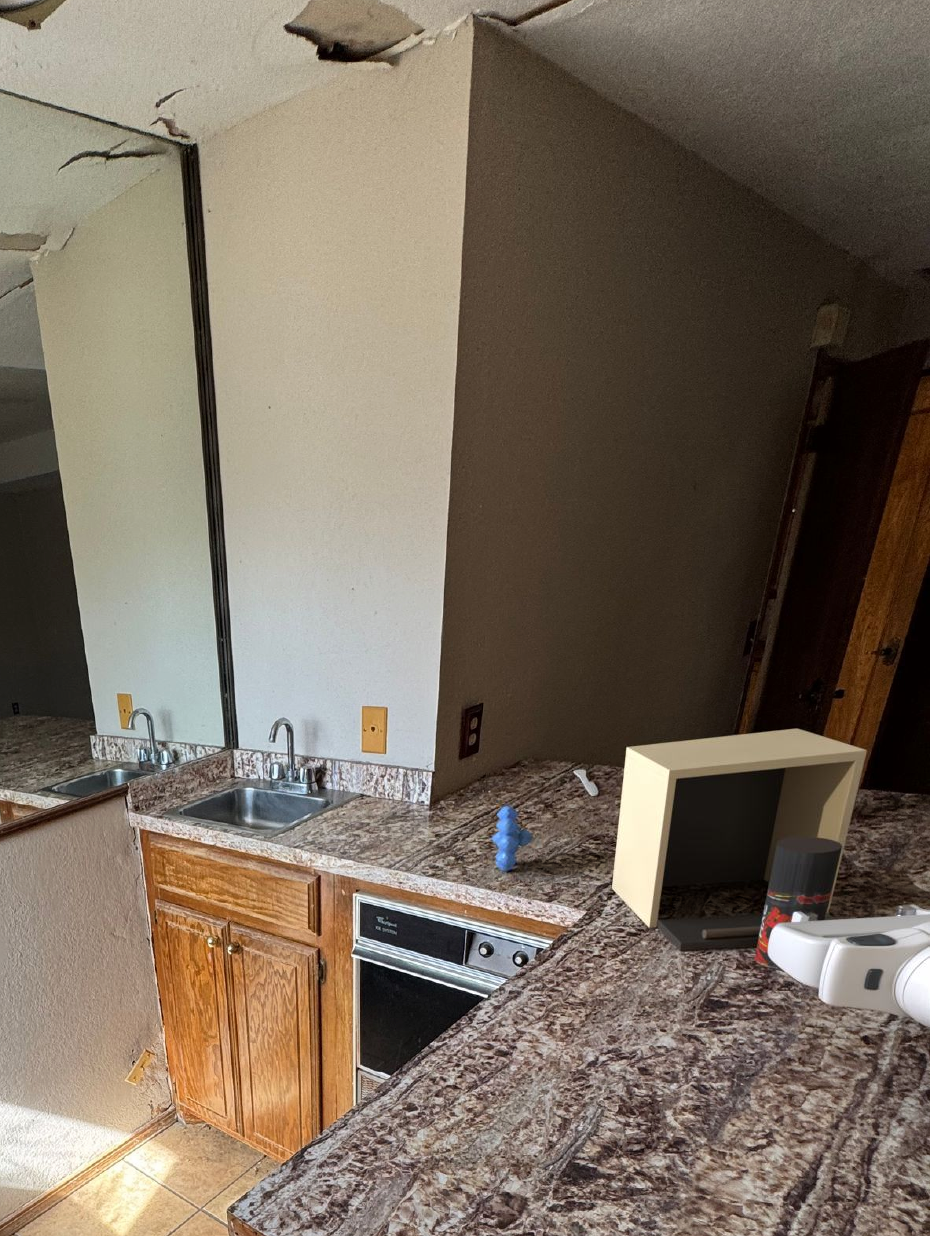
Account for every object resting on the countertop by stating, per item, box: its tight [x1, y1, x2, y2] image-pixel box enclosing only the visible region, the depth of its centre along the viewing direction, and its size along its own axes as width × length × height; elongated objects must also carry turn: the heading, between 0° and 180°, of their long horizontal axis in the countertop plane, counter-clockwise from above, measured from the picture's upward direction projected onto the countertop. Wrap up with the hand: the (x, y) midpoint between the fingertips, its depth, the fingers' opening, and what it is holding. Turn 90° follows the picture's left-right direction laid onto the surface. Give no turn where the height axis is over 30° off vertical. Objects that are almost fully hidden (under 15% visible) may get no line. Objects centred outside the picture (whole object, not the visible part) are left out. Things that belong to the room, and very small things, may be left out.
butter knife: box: [573, 769, 599, 797], centre depth 178 cm, size 1×24×3 cm
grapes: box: [491, 805, 535, 872], centre depth 134 cm, size 12×7×12 cm, turn 161°
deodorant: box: [754, 837, 842, 972], centre depth 93 cm, size 6×6×15 cm
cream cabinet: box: [611, 728, 868, 952], centre depth 106 cm, size 22×24×22 cm
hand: (849, 914), depth 83 cm, fingers open, 8 cm apart
